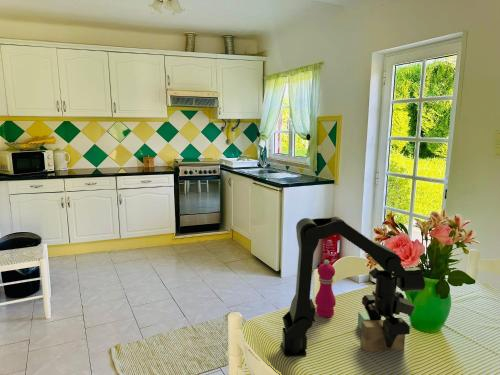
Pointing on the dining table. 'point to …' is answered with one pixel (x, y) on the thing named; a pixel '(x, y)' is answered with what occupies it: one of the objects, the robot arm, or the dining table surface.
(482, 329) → the dining table surface
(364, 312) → the letter cube
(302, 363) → the dining table surface
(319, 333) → the dining table surface
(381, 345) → the wooden block
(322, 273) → the pepper mill
